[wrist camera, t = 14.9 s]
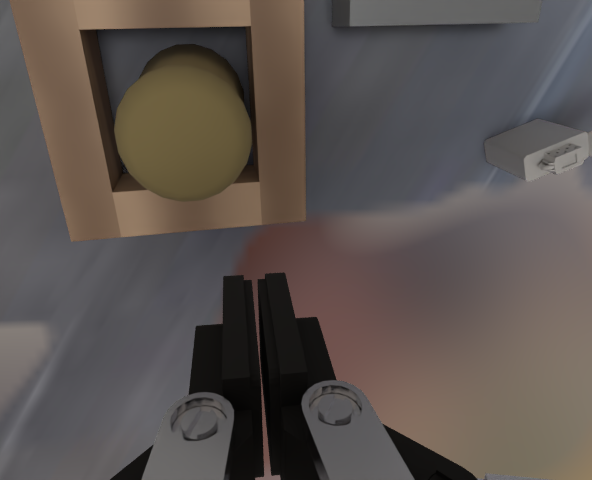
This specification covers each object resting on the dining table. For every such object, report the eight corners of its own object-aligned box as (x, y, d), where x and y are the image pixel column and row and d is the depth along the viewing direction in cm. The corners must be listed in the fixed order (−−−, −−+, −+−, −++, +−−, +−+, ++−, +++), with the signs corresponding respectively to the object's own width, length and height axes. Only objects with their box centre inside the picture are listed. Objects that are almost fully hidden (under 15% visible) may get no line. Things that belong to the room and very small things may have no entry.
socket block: (290, -29, 24) (303, -37, 21) (295, 200, 30) (305, 221, 27) (28, -29, 22) (-1, -38, 19) (86, 217, 28) (71, 241, 25)
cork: (136, 36, 24) (89, 42, 14) (249, 52, 25) (276, 68, 16) (136, 147, 27) (96, 218, 17) (239, 157, 28) (258, 228, 18)
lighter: (487, 163, 31) (570, 204, 24) (483, 140, 30) (568, 175, 23) (581, 125, 31) (693, 154, 24) (580, 101, 30) (695, 123, 23)
